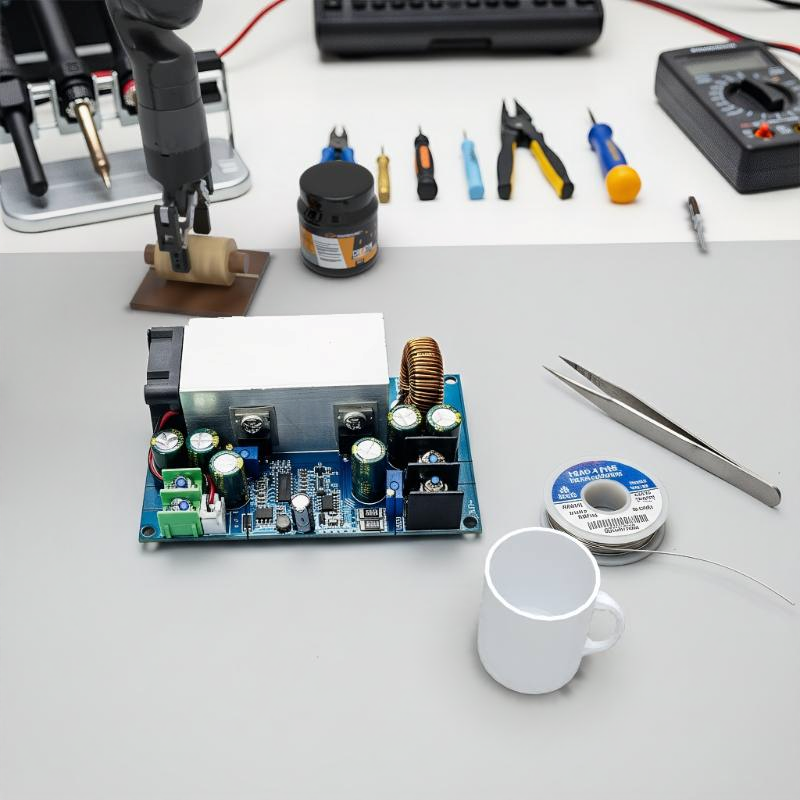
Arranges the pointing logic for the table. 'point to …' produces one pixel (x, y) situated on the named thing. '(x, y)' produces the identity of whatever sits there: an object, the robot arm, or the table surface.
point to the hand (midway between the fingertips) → (192, 251)
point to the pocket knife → (696, 218)
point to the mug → (540, 610)
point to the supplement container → (338, 218)
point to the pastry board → (202, 292)
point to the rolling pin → (202, 261)
